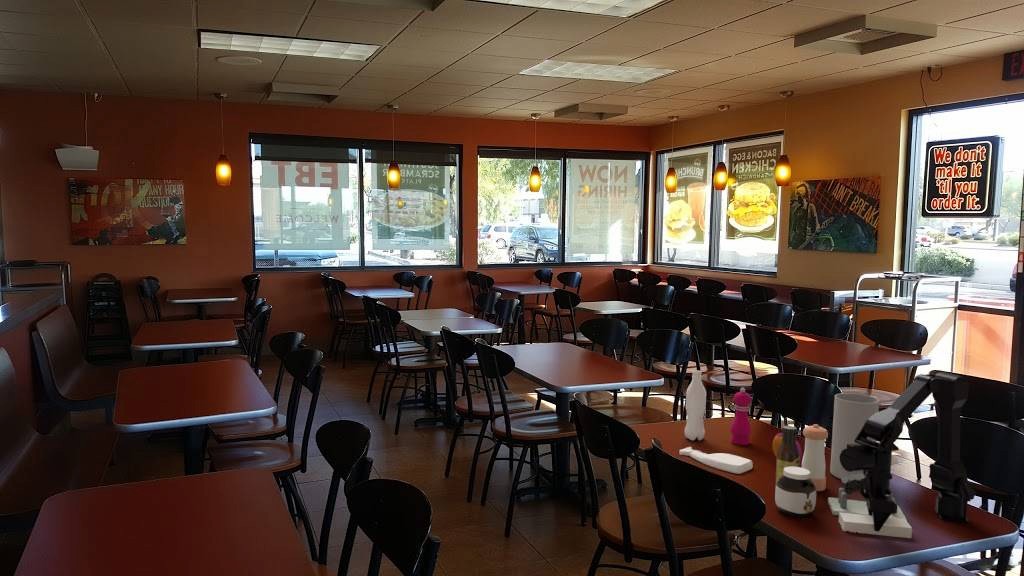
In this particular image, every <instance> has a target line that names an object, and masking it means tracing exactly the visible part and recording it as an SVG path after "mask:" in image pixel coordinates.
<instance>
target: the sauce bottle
mask: <svg viewBox="0 0 1024 576" xmlns="http://www.w3.org/2000/svg"><path fill="white" fill-rule="evenodd" d="M797 429H798V428H797V427H795V426H792V425H783V426H782V427H781V433H782V443H781V445H780V446H779V448H778V450H777V457H776V466H775V467H776V470H775V485H776V484H777V481H778V480H779V478H780V477H782V476H783V475H784V474H783V472H784V468H785V467H800V461H801V459H800V454H799V451H798V448H797V445H796V441H797V431H798V430H797Z"/></svg>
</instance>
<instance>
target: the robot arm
mask: <svg viewBox="0 0 1024 576" xmlns="http://www.w3.org/2000/svg"><path fill="white" fill-rule="evenodd" d="M969 392H970V383H969V380H967V378H966V377H964V376H962V375H957V374H953V373H949V372H945V371H944V372H943V371H939V372H937V373H936V374H922V373H921V374H917V375H916V376H914V378H913V381H912V382H911V384H909V385H908V387H906V389H905V390H903V392H901V394H900V395H899V396H898V397H896V399H895V400H894V401H893V402H892V403H891V404H890V405H889V406H888V407H887V408H886V409H883V410H880V411H879V412H877V413H875V414H874V415H873V416H871V417H870V418H869V419H867V421H866V422H865V424H864V426H863V427H862V429H861V431H860V432H859V434H858V435H857V437H856V439H855V440H854V442H856V443H858V444H847V449H844V450H842V452H841V454H840V457H839V458H840V463H841V465H842V467H843V468H844V469H845V470H846V471H849V472H852V471H860V470H863V473H859V474H852V475H848V476H843V477H841V479H840V480H841V484H842V488H844V490H845V493H846V494H847V495H850V494H853V493H858V492H860V493H859V494H860V495H861V496H862V497H863V498H864V499H865V502H866V503H867V504H866V505H867V508H868V514H869V515H872V516H873V524H874V530H875V531H880V529H881V528H882V526H883V525H884V523H885V522H886V520H887V519H888V518H889V516H890V515H891V514H892V513H897V505H898V504H897V501H896V502H895V501H894V500H893V499H892V498H891V497H888V496H886V495H891V494H892V490H891V488H890V486H891V485H890V484H891V480H893V474H892V473H891V472H892V471H891V470H892V469H891V468H892V460H893V459H892V456H893V452H894V451H899V449H900V448H899V447H898V446H897V445H896V444H895V443H896V441H897V440H898V438H899V437H900V436H901V434H902V433H903V430H904V423H905V422H906V421H907V419H909V418H910V416H911V415H912V414H913V413H914V412H915V411H916V410H917V409H918V408H919V407H920V406H921V405H922V404H923V403H924V401H926V400H927V399H928V398H929V397H930V395H932V397H933V399H934V401H935V402H936V404H937V405H938V456H937V459H936V460H935V461H934V463H930V464H929V475H928V478H929V479H930V482H931V485H932V488H933V489H932V490H933V491H935V492H938V496H936V497H935V508H934V512H935V513H936V514H937V515H938V516H939V518H940V519H941V520H945V521H951V522H952V521H954V522H962V523H969V519H968V518H967V516H968V513H967V512H968V502H971V501H972V500H974V499H975V496H976V494H977V492H976V490H975V489H974V488H973V486H972V485H971V483H970V482H969V480H968V472H967V469H966V467H965V466H964V464H963V462H962V460H961V424H962V423H961V420H962V419H961V418H962V417H961V415H962V414H961V412H962V407H963V405H965V402H967V400H968V398H969ZM867 437H868V438H870V439H873V440H875V441H876V442H874V441H871V440H869V439H866V438H867Z"/></svg>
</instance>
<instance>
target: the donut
mask: <svg viewBox="0 0 1024 576" xmlns="http://www.w3.org/2000/svg"><path fill="white" fill-rule="evenodd" d="M781 443H782V432H781V433H780V432H778V433H776V434H775V436H774V437H773V441H772V451H773V453H774V456H775V457H776V458H777V450H778V448H779V446H780V445H781ZM796 445H797V448H798V451H799V454H800V460H801V458H802V447H801V445H800V444H799V441H798V440H796Z"/></svg>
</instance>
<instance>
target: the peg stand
mask: <svg viewBox="0 0 1024 576" xmlns="http://www.w3.org/2000/svg"><path fill="white" fill-rule="evenodd" d="M885 496H888V497H891V498H892V499H893V500H894V501H895V502H896V503H897V500H896V498H894V497H893V496H894V494H893V493H891V495H886V494H885ZM827 504H828V505H830V506H829V508H830V511H831V513H832V515H833V516H839V512H841V513H851V514H862V515H869V514H868V508H867V505H866V504H867V503H866V500H865V501H864V500H856V499H855V500H854V499H849V498H848V494H846V492H845V490H844V487H839V488H838V497H828V498H827ZM889 517H892V518H902V519H906V521H907V518H906V516H905V514H904V513H903V511H902V509H901V507H900V506H899V505H898V504H897V513H892V514H891V515H890V516H889ZM907 522H908V521H907Z"/></svg>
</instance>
